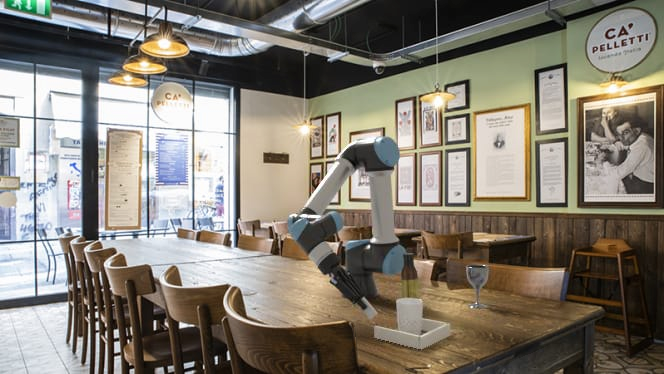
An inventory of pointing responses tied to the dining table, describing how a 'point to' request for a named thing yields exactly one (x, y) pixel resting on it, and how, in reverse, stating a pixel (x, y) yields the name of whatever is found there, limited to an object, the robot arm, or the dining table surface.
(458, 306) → the dining table surface
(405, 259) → the sauce bottle
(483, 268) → the wine glass
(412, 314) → the white cup
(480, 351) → the dining table surface
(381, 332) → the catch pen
